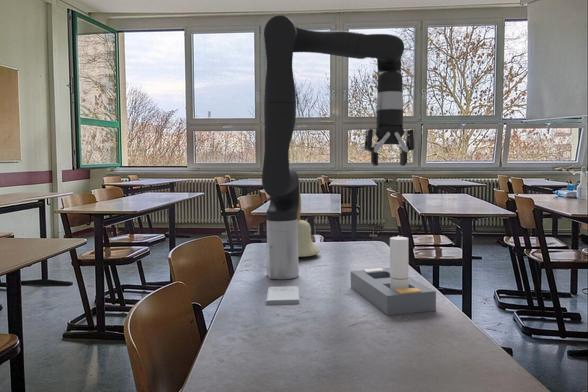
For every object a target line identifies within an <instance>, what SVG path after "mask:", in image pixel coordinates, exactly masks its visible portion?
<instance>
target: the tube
mask: <svg viewBox="0 0 588 392" xmlns="http://www.w3.org/2000/svg"><path fill="white" fill-rule="evenodd" d="M389 262H390V263H389V268H390V289H391V290H395V289H406V288H409V278H408V277H409V237H406V236H405V237H404V236H392V237H389Z"/></svg>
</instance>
